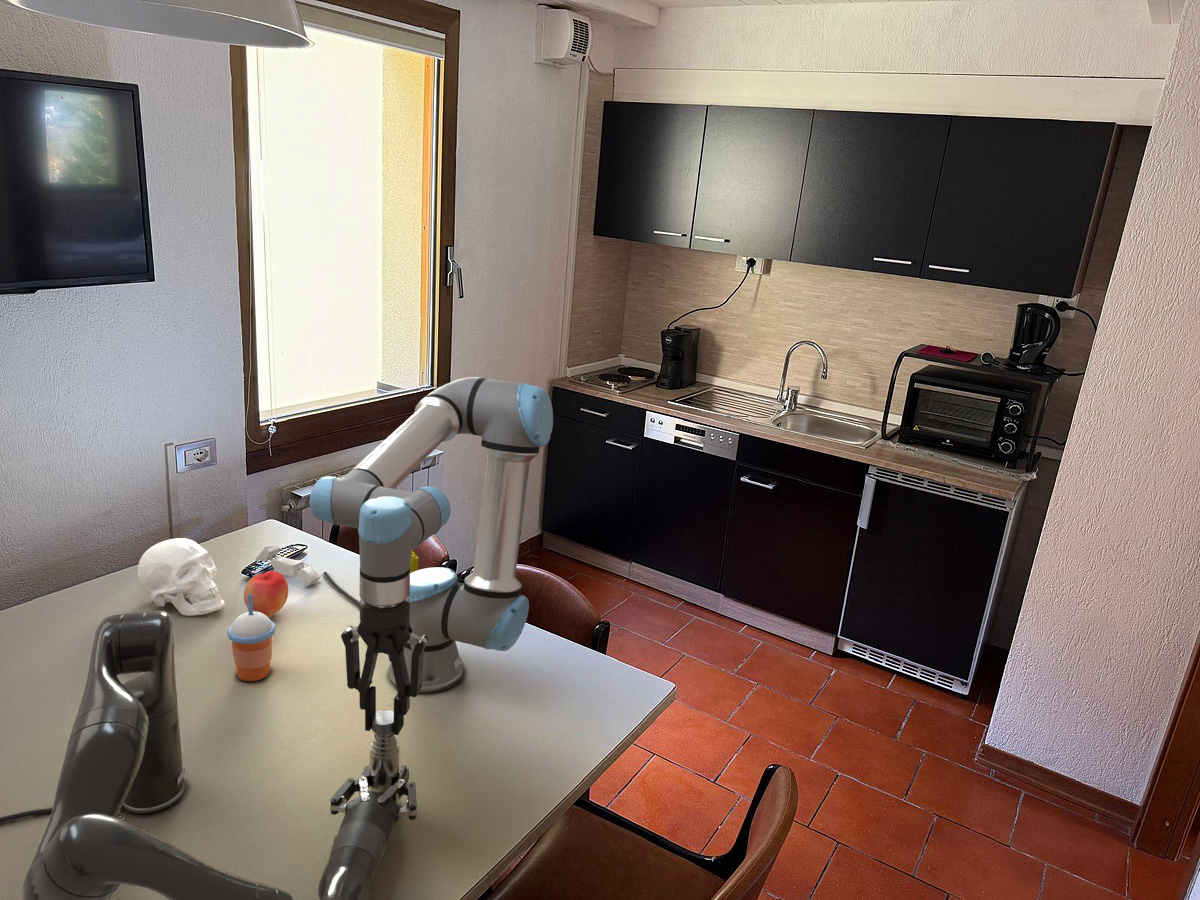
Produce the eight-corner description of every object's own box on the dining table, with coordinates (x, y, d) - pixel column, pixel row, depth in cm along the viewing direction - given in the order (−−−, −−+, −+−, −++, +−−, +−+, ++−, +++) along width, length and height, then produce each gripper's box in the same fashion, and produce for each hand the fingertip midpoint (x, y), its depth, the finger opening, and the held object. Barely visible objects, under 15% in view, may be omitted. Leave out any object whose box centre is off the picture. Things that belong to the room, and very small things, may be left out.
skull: (204, 625, 194) (201, 560, 189) (125, 605, 199) (121, 542, 195) (243, 602, 206) (242, 541, 202) (168, 584, 212) (165, 524, 207)
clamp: (253, 565, 223) (254, 542, 221) (265, 560, 226) (266, 537, 224) (309, 593, 215) (310, 569, 213) (320, 588, 218) (321, 564, 216)
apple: (273, 600, 207) (272, 562, 204) (297, 613, 202) (296, 575, 199) (237, 614, 200) (234, 575, 197) (261, 628, 194) (259, 588, 191)
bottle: (401, 802, 145) (402, 712, 140) (394, 821, 140) (395, 729, 135) (374, 799, 145) (374, 709, 140) (366, 819, 140) (365, 726, 135)
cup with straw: (261, 689, 172) (257, 609, 167) (220, 681, 174) (215, 601, 168) (285, 666, 181) (283, 589, 175) (246, 658, 182) (243, 582, 177)
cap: (400, 720, 140) (400, 710, 139) (394, 735, 136) (394, 725, 135) (375, 718, 140) (375, 709, 139) (368, 734, 136) (368, 724, 135)
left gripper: (313, 860, 128) (346, 784, 144) (408, 866, 128) (430, 789, 145) (312, 818, 126) (345, 746, 142) (409, 825, 126) (431, 752, 142)
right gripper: (446, 593, 134) (442, 721, 141) (341, 580, 135) (343, 707, 142) (431, 615, 127) (428, 749, 134) (321, 601, 128) (324, 734, 135)
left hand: (388, 768), depth 143 cm, fingers closed on bottle, 4 cm apart
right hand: (384, 727), depth 138 cm, fingers closed on cap, 4 cm apart
